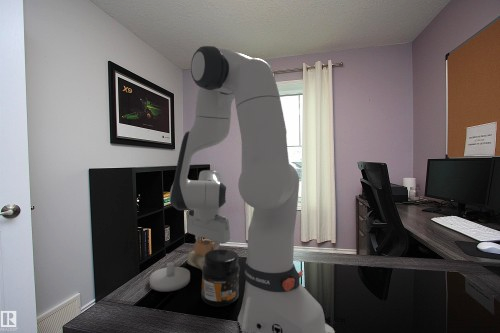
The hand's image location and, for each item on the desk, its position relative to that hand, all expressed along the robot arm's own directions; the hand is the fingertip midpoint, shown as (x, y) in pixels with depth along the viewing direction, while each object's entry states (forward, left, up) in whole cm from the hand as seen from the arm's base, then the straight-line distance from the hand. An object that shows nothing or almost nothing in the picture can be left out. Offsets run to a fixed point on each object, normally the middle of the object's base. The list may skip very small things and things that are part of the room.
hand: (207, 249), depth 89 cm
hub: (-2, +17, -5) cm, 18 cm away
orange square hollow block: (0, 0, -1) cm, 1 cm away
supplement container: (-20, +13, -5) cm, 24 cm away
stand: (0, 0, -5) cm, 5 cm away
